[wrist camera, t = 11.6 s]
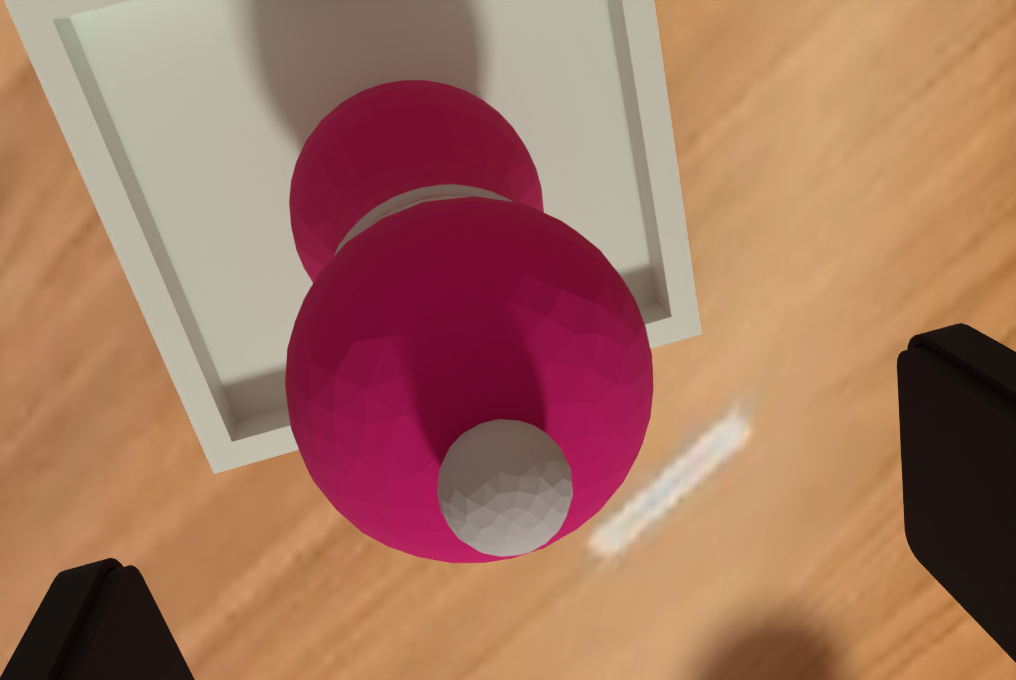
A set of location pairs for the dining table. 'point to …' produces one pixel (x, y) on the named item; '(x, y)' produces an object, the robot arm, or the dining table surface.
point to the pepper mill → (454, 334)
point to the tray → (290, 121)
